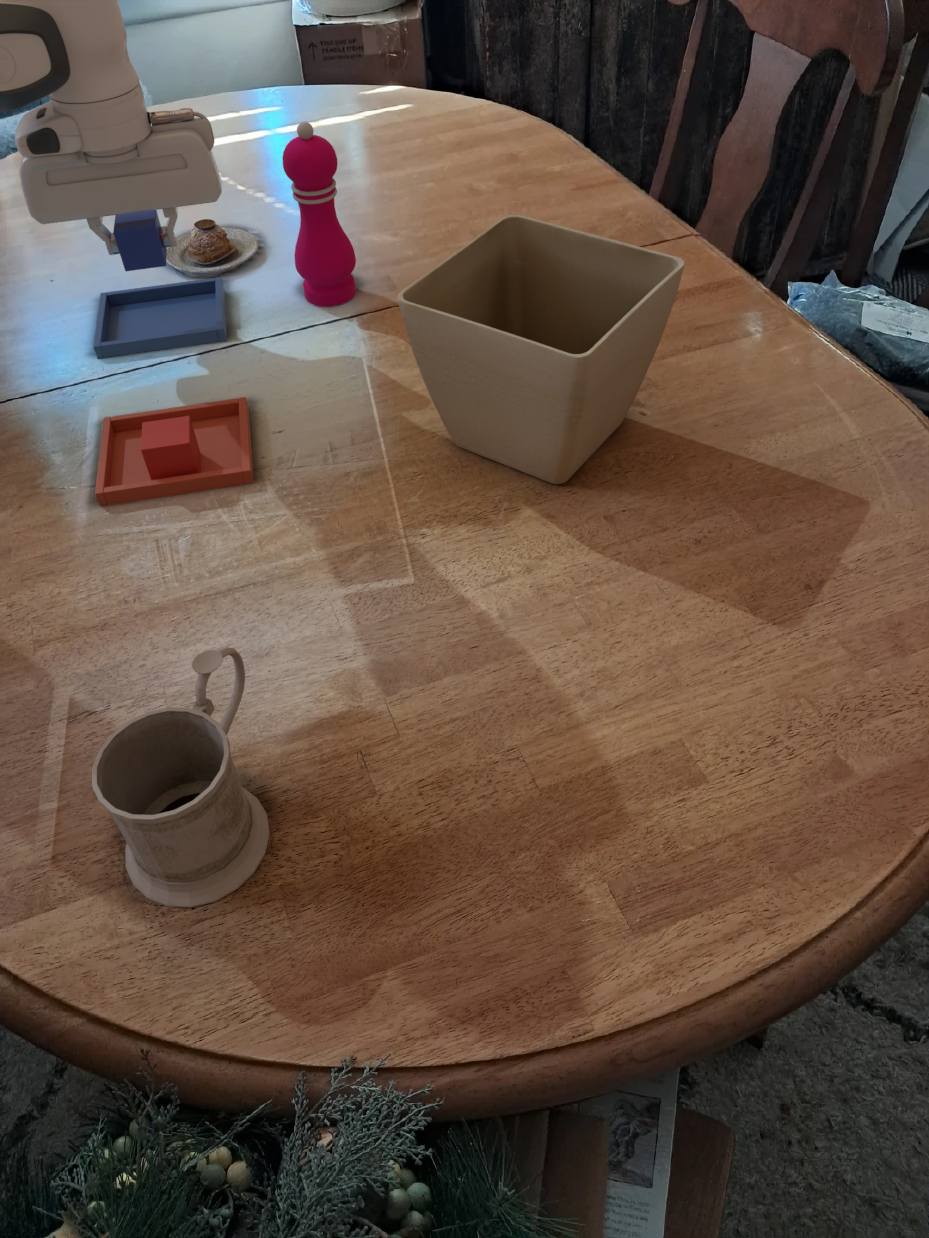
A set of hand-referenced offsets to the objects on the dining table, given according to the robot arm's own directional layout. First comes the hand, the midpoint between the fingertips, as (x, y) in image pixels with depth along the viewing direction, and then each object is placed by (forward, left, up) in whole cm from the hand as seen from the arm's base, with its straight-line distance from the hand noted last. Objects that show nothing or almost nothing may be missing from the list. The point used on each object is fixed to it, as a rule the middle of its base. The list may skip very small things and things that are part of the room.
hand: (142, 248), depth 110 cm
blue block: (0, 0, -1) cm, 1 cm away
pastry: (+6, +16, -10) cm, 20 cm away
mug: (+5, -70, -10) cm, 71 cm away
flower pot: (+38, -32, -10) cm, 51 cm away
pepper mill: (+20, +2, -10) cm, 22 cm away
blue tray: (0, 0, -10) cm, 10 cm away
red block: (+2, -30, -9) cm, 31 cm away
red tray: (+2, -27, -10) cm, 29 cm away
